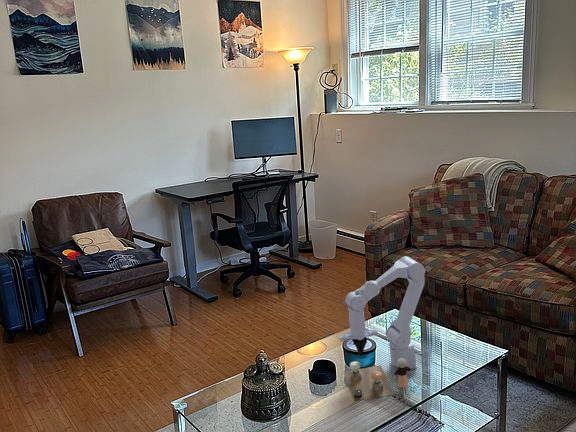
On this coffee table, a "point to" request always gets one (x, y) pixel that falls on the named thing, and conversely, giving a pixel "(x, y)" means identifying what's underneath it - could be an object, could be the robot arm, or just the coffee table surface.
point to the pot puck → (358, 393)
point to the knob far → (355, 366)
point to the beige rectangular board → (368, 383)
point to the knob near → (376, 376)
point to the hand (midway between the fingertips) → (360, 354)
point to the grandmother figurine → (402, 373)
